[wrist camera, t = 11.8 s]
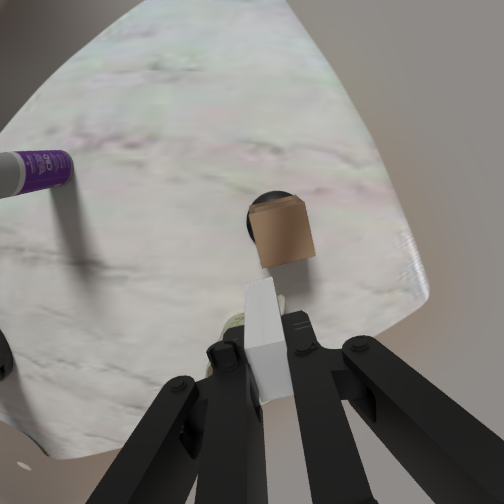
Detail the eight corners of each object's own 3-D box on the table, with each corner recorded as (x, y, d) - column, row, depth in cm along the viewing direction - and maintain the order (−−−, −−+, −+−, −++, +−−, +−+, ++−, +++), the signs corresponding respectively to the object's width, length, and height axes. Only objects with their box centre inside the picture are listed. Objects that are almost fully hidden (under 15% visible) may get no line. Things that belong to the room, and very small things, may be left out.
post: (254, 256, 38) (255, 277, 32) (239, 199, 36) (237, 207, 30) (312, 242, 38) (325, 260, 31) (300, 184, 36) (310, 190, 29)
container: (79, 164, 35) (1, 173, 21) (61, 193, 36) (-17, 214, 22) (58, 143, 34) (-22, 144, 20) (40, 171, 35) (-39, 184, 21)
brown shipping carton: (260, 249, 37) (262, 268, 31) (249, 205, 36) (248, 215, 29) (304, 239, 37) (315, 256, 30) (295, 194, 35) (304, 202, 29)
